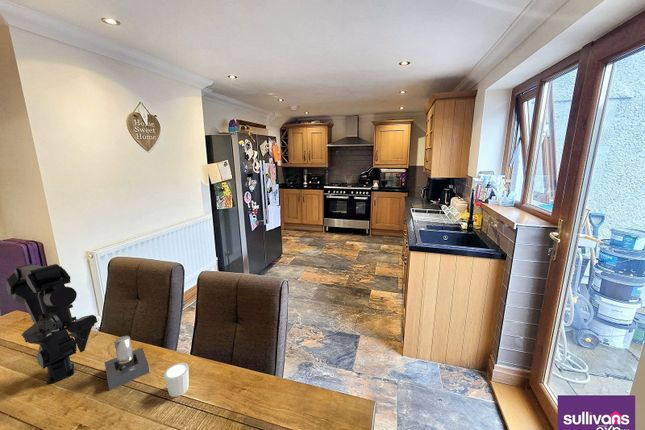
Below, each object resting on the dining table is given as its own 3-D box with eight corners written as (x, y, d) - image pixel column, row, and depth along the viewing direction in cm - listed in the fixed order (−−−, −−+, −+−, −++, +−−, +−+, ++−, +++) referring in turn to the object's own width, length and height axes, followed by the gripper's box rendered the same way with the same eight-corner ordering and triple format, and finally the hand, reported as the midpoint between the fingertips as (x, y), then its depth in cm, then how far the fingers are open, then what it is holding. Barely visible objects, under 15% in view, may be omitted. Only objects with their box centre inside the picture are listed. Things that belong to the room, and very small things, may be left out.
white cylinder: (180, 400, 82) (178, 380, 81) (161, 396, 84) (158, 377, 82) (195, 382, 89) (193, 364, 87) (177, 379, 90) (174, 361, 89)
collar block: (106, 370, 94) (104, 362, 93) (143, 355, 101) (142, 347, 100) (109, 390, 86) (107, 381, 85) (149, 372, 93) (148, 363, 92)
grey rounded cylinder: (117, 374, 92) (111, 341, 90) (130, 365, 96) (125, 334, 94) (124, 378, 91) (119, 345, 88) (137, 369, 94) (132, 337, 92)
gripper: (-6, 324, 75) (10, 377, 76) (54, 311, 74) (70, 365, 74) (39, 308, 86) (52, 354, 87) (91, 296, 85) (105, 343, 85)
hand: (69, 354), depth 83 cm, fingers open, 9 cm apart
